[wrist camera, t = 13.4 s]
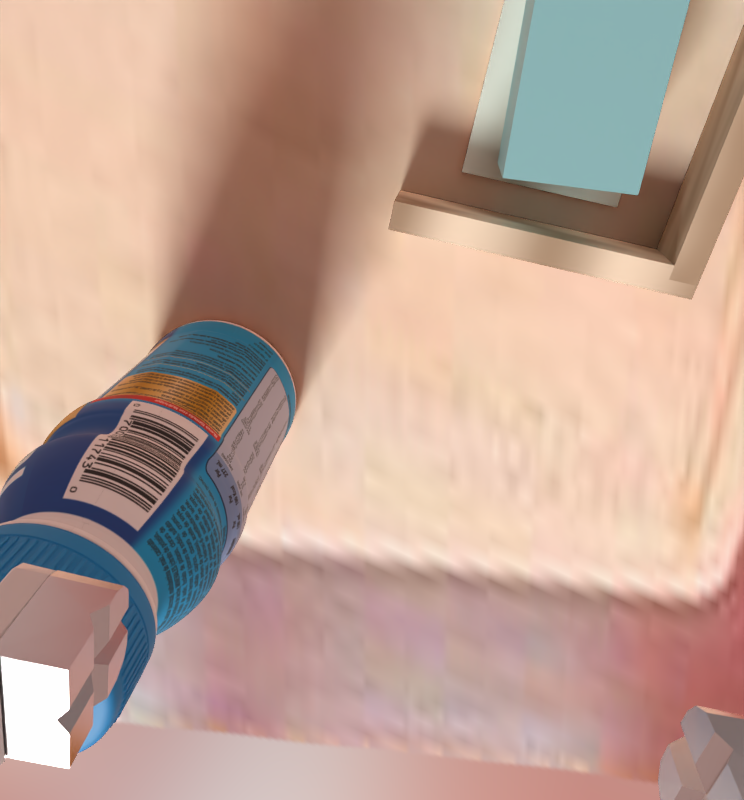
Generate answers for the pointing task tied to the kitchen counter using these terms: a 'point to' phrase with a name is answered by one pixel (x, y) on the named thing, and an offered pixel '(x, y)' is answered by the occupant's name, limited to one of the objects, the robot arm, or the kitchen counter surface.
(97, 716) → the beverage bottle
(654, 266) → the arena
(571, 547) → the kitchen counter surface
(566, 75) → the teal block
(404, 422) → the kitchen counter surface
